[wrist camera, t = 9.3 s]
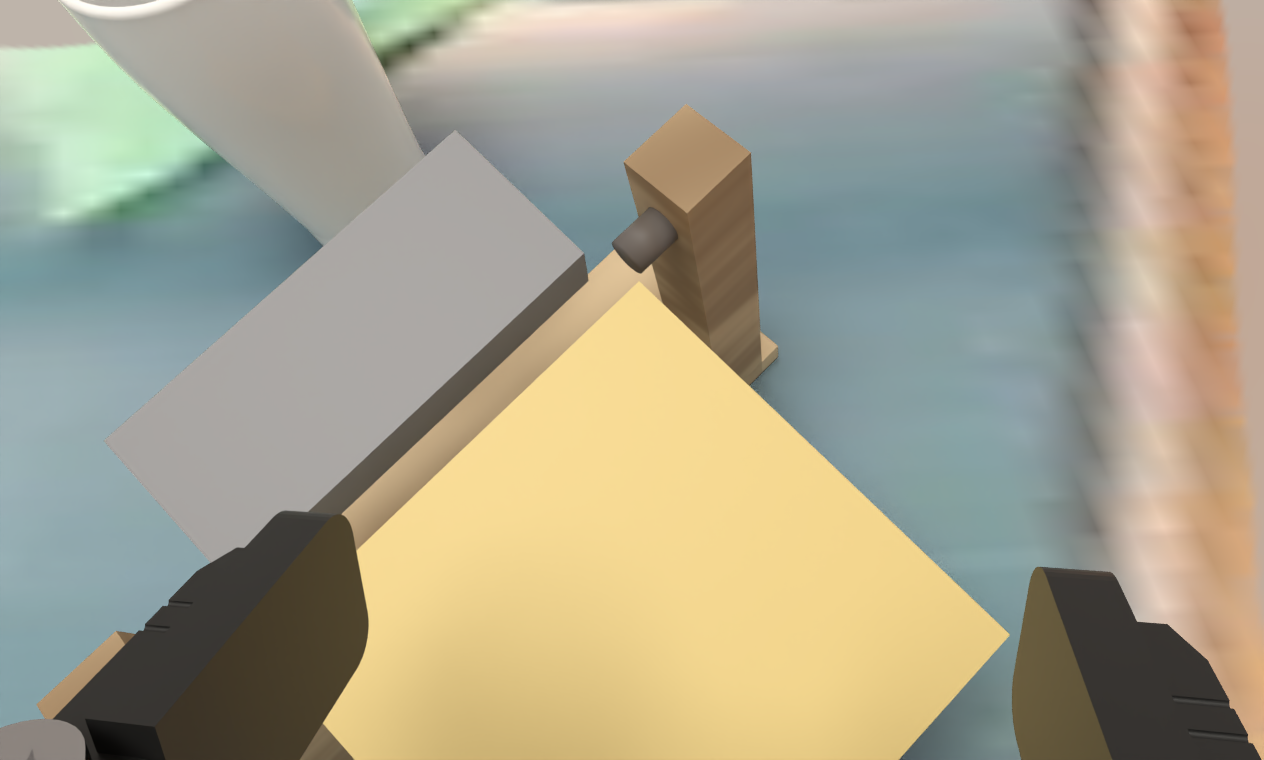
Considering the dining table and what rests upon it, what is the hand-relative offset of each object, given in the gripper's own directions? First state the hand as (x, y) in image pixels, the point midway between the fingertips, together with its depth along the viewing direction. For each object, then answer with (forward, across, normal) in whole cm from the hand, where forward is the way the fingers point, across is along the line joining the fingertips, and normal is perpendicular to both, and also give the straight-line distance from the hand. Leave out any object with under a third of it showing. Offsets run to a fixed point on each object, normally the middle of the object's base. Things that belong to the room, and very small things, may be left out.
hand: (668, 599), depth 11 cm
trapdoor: (+9, +4, +6) cm, 12 cm away
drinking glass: (+26, +15, +2) cm, 31 cm away
